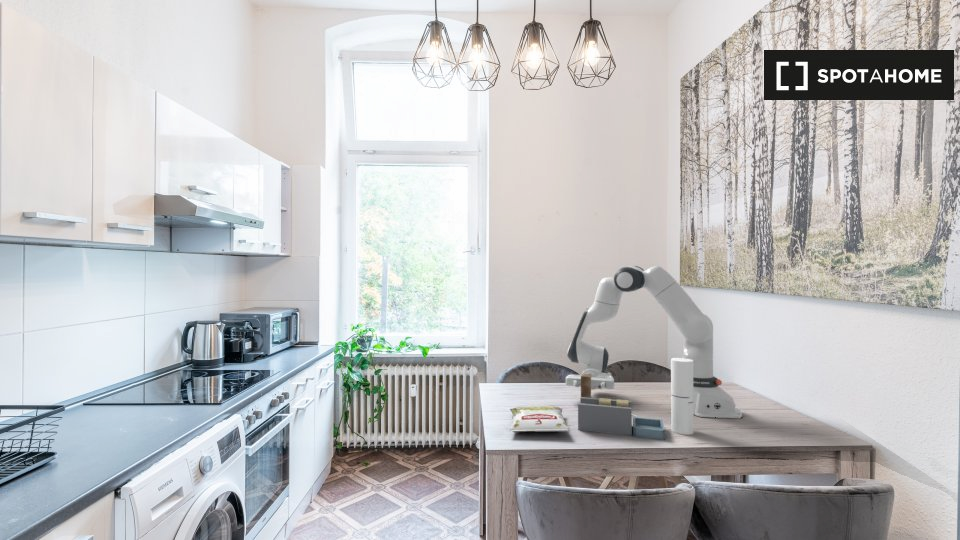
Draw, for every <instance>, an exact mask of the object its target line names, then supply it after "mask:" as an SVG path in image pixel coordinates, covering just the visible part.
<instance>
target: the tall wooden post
mask: <svg viewBox="0 0 960 540" xmlns="http://www.w3.org/2000/svg"><path fill="white" fill-rule="evenodd" d="M581 374H582V373H581ZM581 374H580V375H581ZM581 397H587V398H592V389H591V374H582V375H581V387H580V398H581Z"/></svg>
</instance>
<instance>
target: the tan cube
mask: <svg viewBox="0 0 960 540" xmlns="http://www.w3.org/2000/svg"><path fill="white" fill-rule="evenodd" d="M599 405H606V406H611V398H604V397H599Z"/></svg>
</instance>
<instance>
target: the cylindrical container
mask: <svg viewBox="0 0 960 540" xmlns="http://www.w3.org/2000/svg"><path fill="white" fill-rule="evenodd" d="M670 410H671V411H670V412H671V413H670V414H671V415H670V416H671V417H670V418H671V419H670V420H671V421H670V424H671V426H670V427H671V429H670V430H671V431H672V432H674V433H676V434H680V435H687V436H688V435H689V436H690V435H694V431H695V430H694V429H695V428H694V426H695V425H694V424H695V423H694V409H693V360H691V359H686V358H683V357H673V358H670Z"/></svg>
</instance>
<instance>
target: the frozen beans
mask: <svg viewBox="0 0 960 540" xmlns="http://www.w3.org/2000/svg"><path fill="white" fill-rule="evenodd" d="M509 410H510V412H511V413H512V415H513V416H512V422H511V424H512V425H511V427H510V428H509V429H510V430H509V432H512V433H545V432H546V433H547V432H548V433H549V432H550V433H551V432H553V433H554V432H558V433H559V432H560V433H567V432H569V431H570V430H571V429H570V428H569V427H568V425H567V423H566V421H565V419H564V415H563V413H562V412H563V410H564V407H559V406H526V407H525V406H522V407H521V406H520V407H519V406H518V407H513V408H510V409H509Z"/></svg>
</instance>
